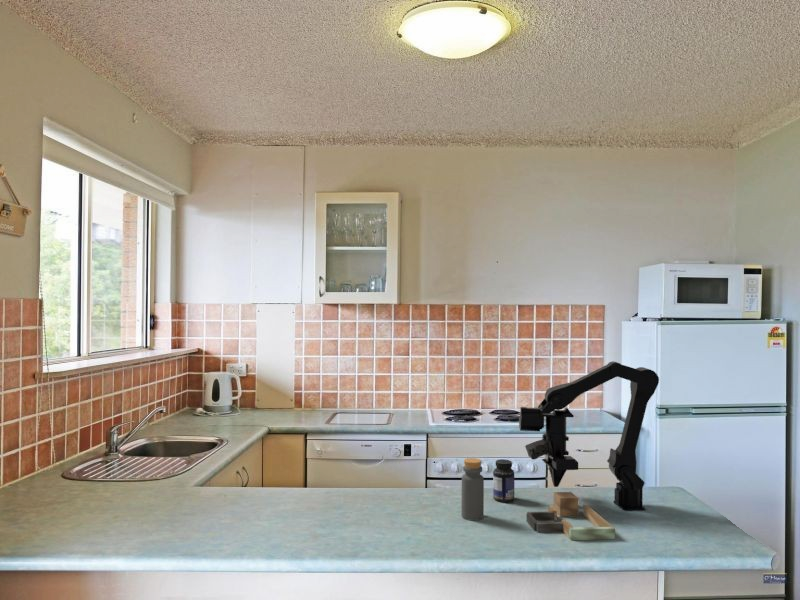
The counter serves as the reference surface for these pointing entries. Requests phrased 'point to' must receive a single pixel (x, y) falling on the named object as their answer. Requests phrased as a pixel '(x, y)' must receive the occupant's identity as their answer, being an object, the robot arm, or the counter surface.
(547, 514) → the channel
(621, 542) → the counter surface
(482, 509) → the bottle
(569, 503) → the walnut block
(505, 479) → the pill bottle
